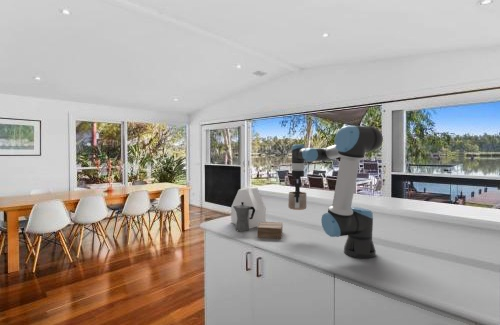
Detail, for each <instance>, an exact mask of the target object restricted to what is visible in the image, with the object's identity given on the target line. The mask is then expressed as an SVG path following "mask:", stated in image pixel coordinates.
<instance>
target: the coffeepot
mask: <svg viewBox="0 0 500 325" xmlns="http://www.w3.org/2000/svg"><path fill="white" fill-rule="evenodd" d="M241 204H242V205H239V206H233V207H234V209H235V210H236V213H237V224H235V230H236V231H237V230H238V231H237V232H248V231H249V230H250V228H249V226H248V219H247V217H248V212H249V210H250V209H252V210H253V211H252V214H251V218H249V219H252V218H253V216H254V213H255V208H254V207H251V206H246V205H243V204H244V202H241Z"/></svg>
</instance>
